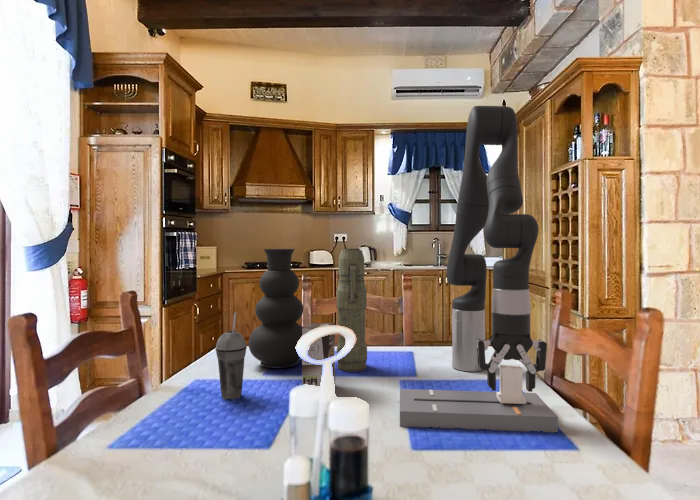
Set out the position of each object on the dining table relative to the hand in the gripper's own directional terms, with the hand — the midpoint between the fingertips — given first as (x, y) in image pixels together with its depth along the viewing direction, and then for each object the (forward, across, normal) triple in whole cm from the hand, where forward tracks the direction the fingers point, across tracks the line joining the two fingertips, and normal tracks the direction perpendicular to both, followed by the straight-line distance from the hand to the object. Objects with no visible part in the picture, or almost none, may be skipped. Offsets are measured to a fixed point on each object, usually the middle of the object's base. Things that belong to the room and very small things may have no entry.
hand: (510, 389), depth 94 cm
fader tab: (+2, 0, 0) cm, 2 cm away
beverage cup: (+6, +63, -7) cm, 64 cm away
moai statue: (+6, +37, -35) cm, 51 cm away
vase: (+6, +59, -36) cm, 69 cm away
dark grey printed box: (+6, +43, -14) cm, 46 cm away
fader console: (+6, +8, 0) cm, 10 cm away
